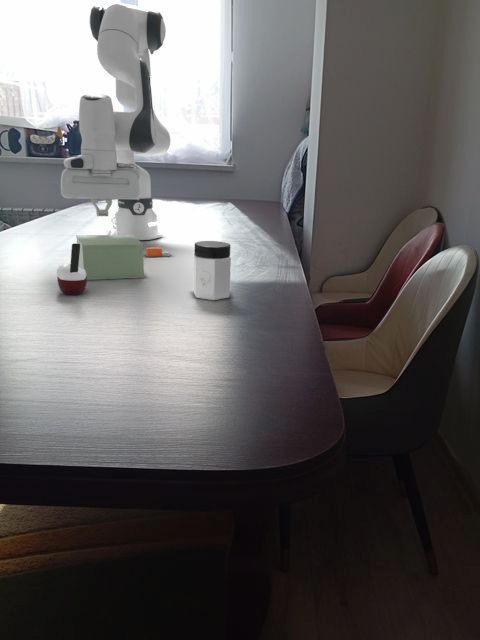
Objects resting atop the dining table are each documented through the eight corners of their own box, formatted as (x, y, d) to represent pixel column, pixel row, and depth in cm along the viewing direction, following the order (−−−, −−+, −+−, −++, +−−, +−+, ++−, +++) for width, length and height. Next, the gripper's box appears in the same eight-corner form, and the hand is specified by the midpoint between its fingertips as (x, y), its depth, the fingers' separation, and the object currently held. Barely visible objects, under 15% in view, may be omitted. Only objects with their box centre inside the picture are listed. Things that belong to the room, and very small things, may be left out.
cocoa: (61, 287, 119) (57, 235, 115) (89, 287, 120) (86, 236, 116) (54, 299, 110) (49, 243, 106) (85, 299, 112) (81, 243, 107)
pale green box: (78, 267, 139) (76, 235, 136) (133, 265, 145) (132, 234, 142) (84, 280, 127) (82, 245, 123) (144, 277, 132) (143, 244, 129)
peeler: (147, 256, 157) (147, 249, 156) (145, 254, 159) (145, 247, 158) (170, 256, 159) (170, 248, 158) (167, 254, 162) (167, 246, 161)
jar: (186, 296, 118) (186, 244, 113) (201, 288, 125) (201, 239, 121) (222, 302, 116) (224, 248, 111) (235, 293, 123) (237, 243, 118)
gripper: (137, 163, 141) (138, 214, 146) (57, 159, 133) (62, 214, 138) (141, 164, 136) (143, 217, 141) (59, 160, 128) (64, 217, 133)
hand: (102, 216), depth 139 cm, fingers closed
